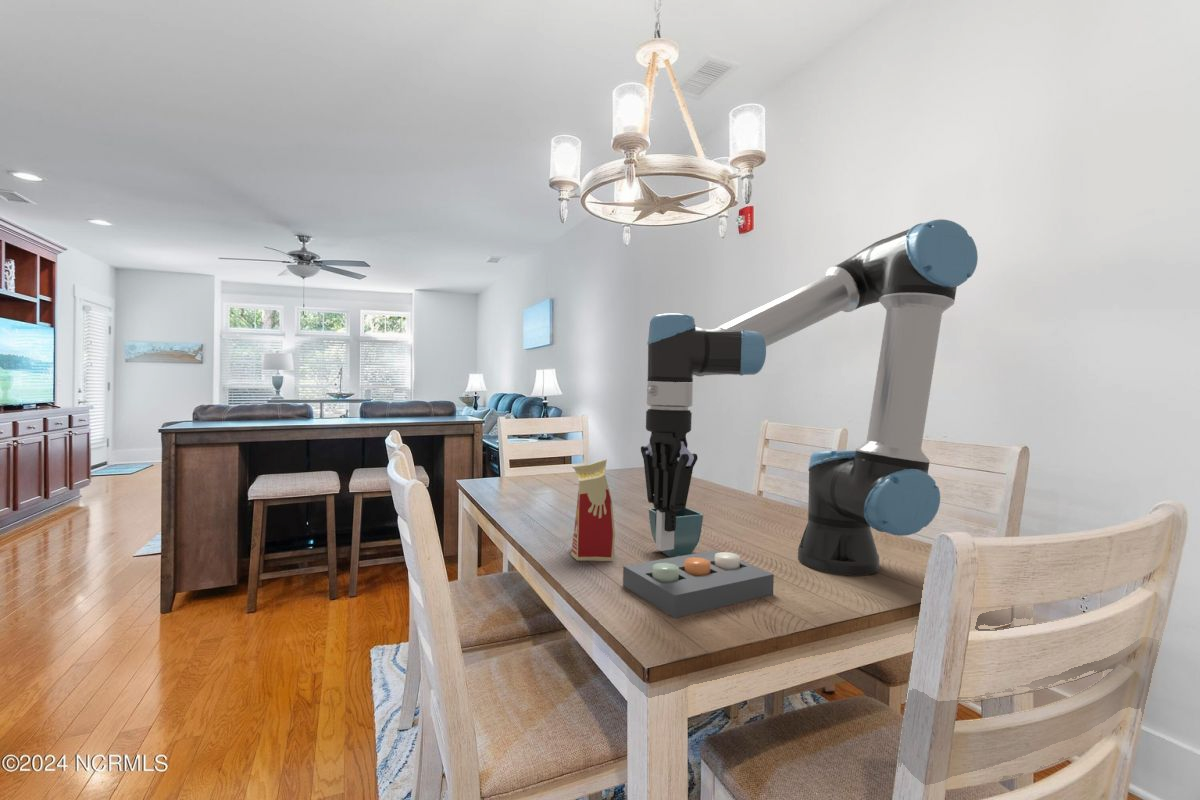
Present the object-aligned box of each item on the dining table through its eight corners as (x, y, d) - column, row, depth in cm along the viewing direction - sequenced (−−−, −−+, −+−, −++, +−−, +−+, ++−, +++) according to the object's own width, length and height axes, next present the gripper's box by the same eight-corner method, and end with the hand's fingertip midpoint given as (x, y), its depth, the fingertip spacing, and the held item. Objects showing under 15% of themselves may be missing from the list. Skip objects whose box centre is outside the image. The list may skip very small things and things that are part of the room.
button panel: (714, 567, 106) (715, 550, 106) (773, 594, 93) (773, 574, 92) (623, 585, 96) (623, 565, 95) (674, 618, 82) (674, 595, 82)
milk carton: (613, 547, 118) (614, 456, 117) (615, 561, 108) (617, 462, 108) (571, 547, 117) (572, 455, 117) (570, 561, 108) (571, 461, 108)
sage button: (668, 576, 94) (668, 561, 94) (683, 584, 90) (684, 569, 90) (647, 580, 92) (647, 565, 91) (662, 589, 88) (662, 573, 88)
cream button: (727, 564, 100) (728, 551, 100) (744, 572, 96) (745, 557, 96) (709, 568, 98) (709, 554, 98) (726, 576, 94) (726, 561, 94)
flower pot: (646, 549, 117) (647, 508, 117) (682, 545, 120) (683, 505, 120) (665, 561, 109) (666, 517, 109) (703, 557, 112) (704, 514, 112)
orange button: (699, 570, 97) (699, 556, 97) (715, 578, 93) (715, 563, 93) (679, 574, 95) (679, 559, 95) (695, 582, 91) (695, 567, 91)
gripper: (629, 406, 94) (625, 541, 94) (674, 410, 82) (669, 563, 83) (664, 406, 97) (660, 536, 98) (712, 410, 86) (707, 557, 87)
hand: (664, 548), depth 91 cm, fingers closed
